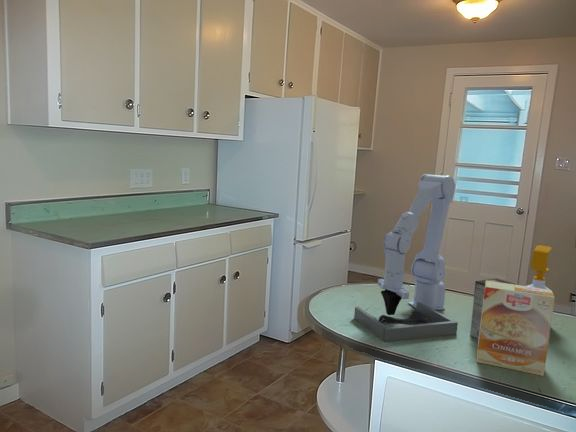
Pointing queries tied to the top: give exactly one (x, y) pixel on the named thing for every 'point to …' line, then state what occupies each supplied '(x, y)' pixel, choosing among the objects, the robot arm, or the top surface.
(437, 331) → the box
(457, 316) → the top surface
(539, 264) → the soap bottle
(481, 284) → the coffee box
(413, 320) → the bracket
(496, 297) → the coffeecake box
